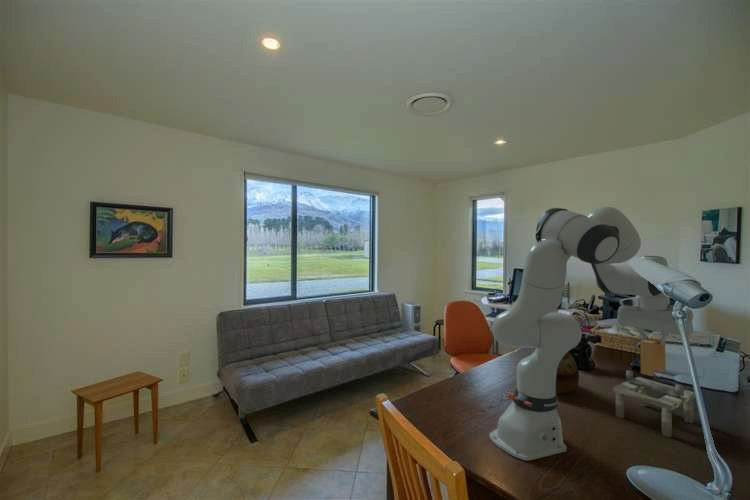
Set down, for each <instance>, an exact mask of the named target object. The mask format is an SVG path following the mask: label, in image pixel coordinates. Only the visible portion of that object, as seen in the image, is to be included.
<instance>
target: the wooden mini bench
mask: <svg viewBox="0 0 750 500" xmlns="http://www.w3.org/2000/svg"><path fill="white" fill-rule="evenodd" d="M659 338H660V339H661V338H662V337H658V336H657V337H656V336H654V337H649V339H646V340H643V341H642V340H640V341H639V342H640V345H639V346H640V374H642V375H645V376H646V375H647V376H649V377H653V376H655V371H659V372H662V373H663V372H666V369H667V368H666V366H667V365H666V363H667V362H666V344H665V345H659V344H657V339H659Z"/></svg>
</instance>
